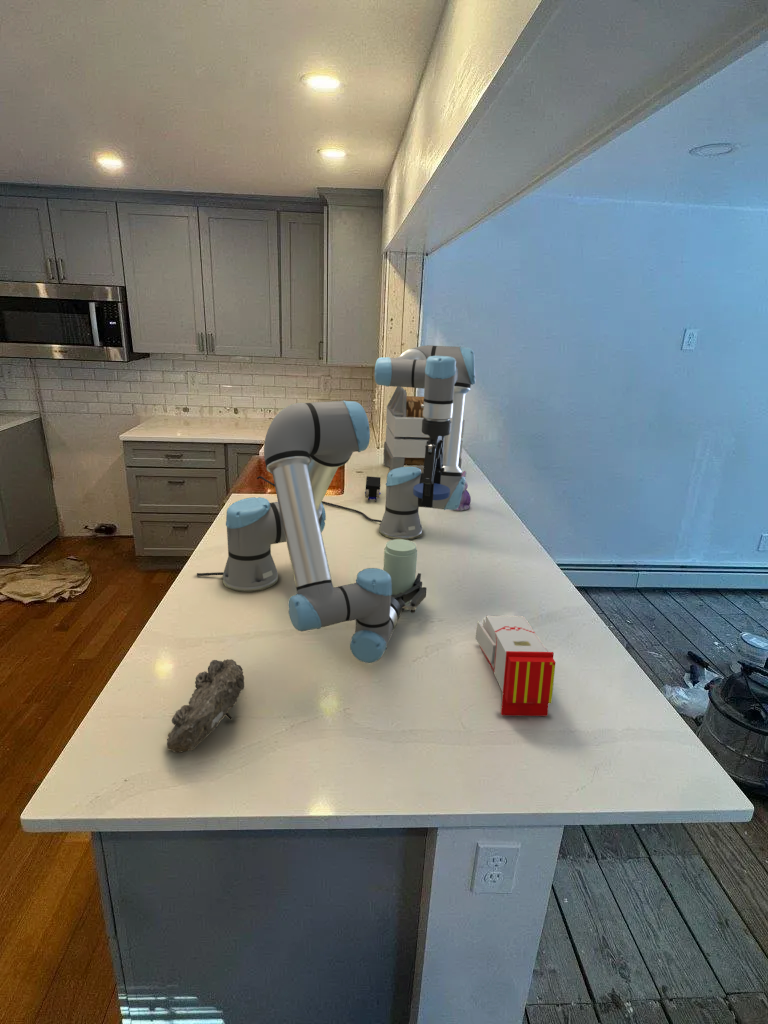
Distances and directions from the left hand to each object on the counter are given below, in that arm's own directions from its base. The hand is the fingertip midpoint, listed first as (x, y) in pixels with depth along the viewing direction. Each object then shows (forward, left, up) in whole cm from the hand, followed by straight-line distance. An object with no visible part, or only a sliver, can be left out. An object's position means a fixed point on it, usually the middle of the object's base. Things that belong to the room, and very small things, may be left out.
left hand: (402, 575), depth 155 cm
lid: (+5, +7, +23) cm, 25 cm away
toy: (+30, -29, -6) cm, 42 cm away
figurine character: (-29, +79, -6) cm, 85 cm away
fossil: (-24, -59, -6) cm, 64 cm away
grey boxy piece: (-18, +124, -6) cm, 126 cm away
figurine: (+7, +80, -6) cm, 81 cm away
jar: (0, -5, -6) cm, 8 cm away
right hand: (+5, +7, +20) cm, 22 cm away
